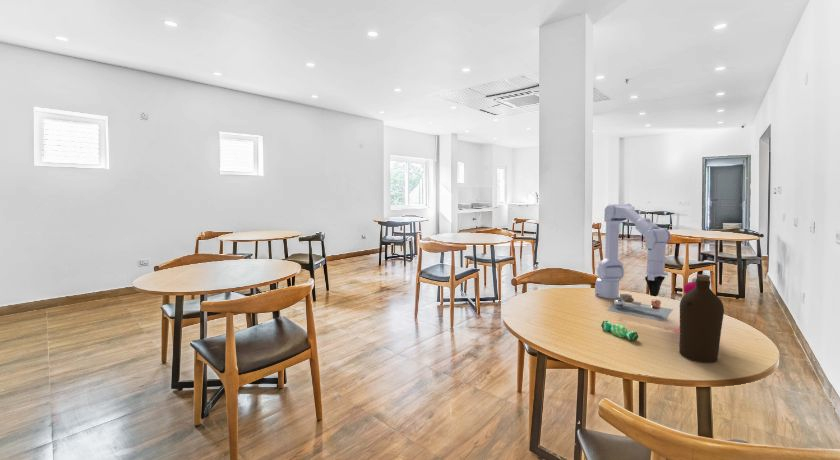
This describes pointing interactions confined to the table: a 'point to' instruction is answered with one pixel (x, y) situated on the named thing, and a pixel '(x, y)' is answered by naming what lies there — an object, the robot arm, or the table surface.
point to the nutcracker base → (641, 310)
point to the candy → (619, 330)
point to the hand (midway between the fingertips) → (654, 295)
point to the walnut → (629, 299)
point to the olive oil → (700, 322)
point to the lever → (639, 305)
